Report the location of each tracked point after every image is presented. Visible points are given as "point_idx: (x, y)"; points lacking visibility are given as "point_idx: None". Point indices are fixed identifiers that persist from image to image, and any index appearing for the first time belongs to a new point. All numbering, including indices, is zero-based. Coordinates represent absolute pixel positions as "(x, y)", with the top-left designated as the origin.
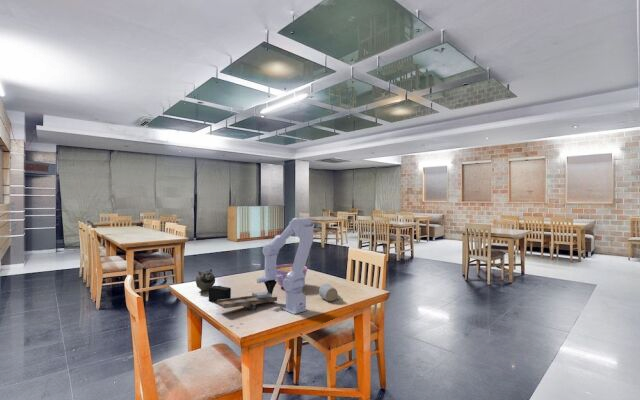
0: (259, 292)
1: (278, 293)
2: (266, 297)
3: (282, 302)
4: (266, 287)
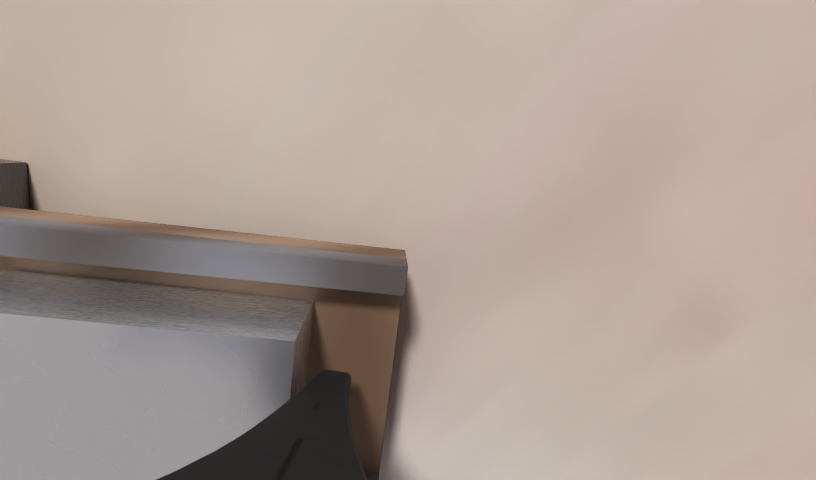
0: (94, 349)
1: (757, 125)
2: None
3: (459, 465)
4: (229, 445)
